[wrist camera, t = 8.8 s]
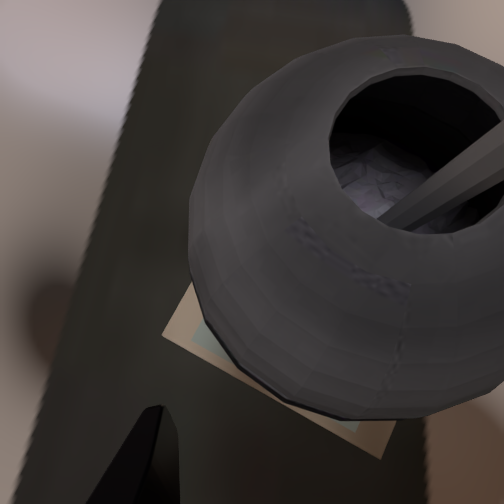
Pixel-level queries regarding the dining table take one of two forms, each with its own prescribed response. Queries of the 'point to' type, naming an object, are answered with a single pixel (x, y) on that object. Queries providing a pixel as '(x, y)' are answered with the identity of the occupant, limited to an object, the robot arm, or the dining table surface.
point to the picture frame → (208, 348)
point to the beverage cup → (359, 230)
